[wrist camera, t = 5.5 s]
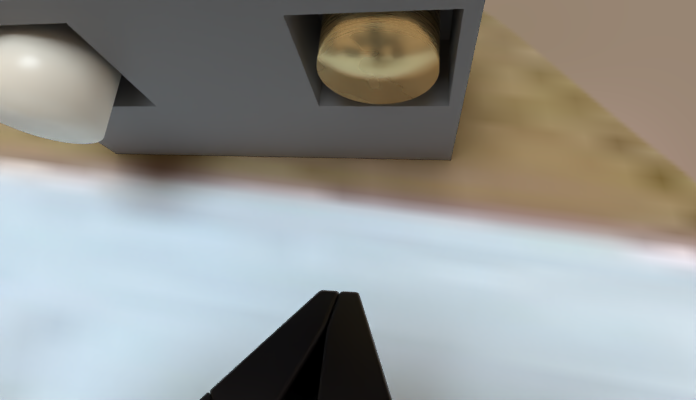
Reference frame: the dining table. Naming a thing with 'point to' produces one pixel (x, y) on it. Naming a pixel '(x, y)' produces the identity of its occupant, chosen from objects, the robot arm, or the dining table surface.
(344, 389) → the robot arm
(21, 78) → the cream button
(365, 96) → the brass button
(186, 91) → the console
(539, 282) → the dining table surface
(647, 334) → the dining table surface
